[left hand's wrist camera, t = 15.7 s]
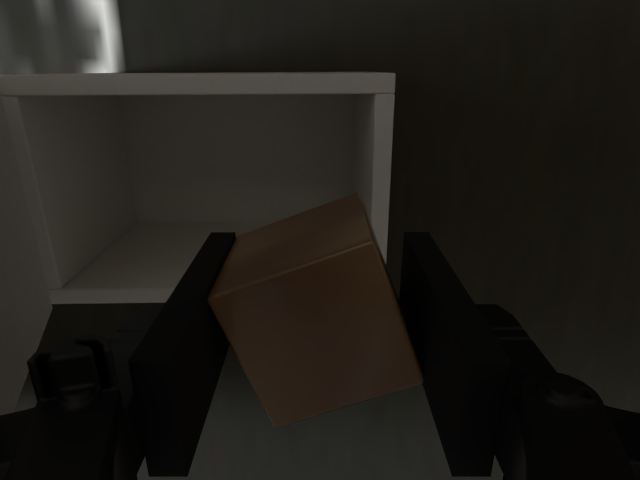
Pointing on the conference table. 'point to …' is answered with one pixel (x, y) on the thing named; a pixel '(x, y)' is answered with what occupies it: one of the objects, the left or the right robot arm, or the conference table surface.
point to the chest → (186, 166)
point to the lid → (17, 277)
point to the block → (314, 313)
